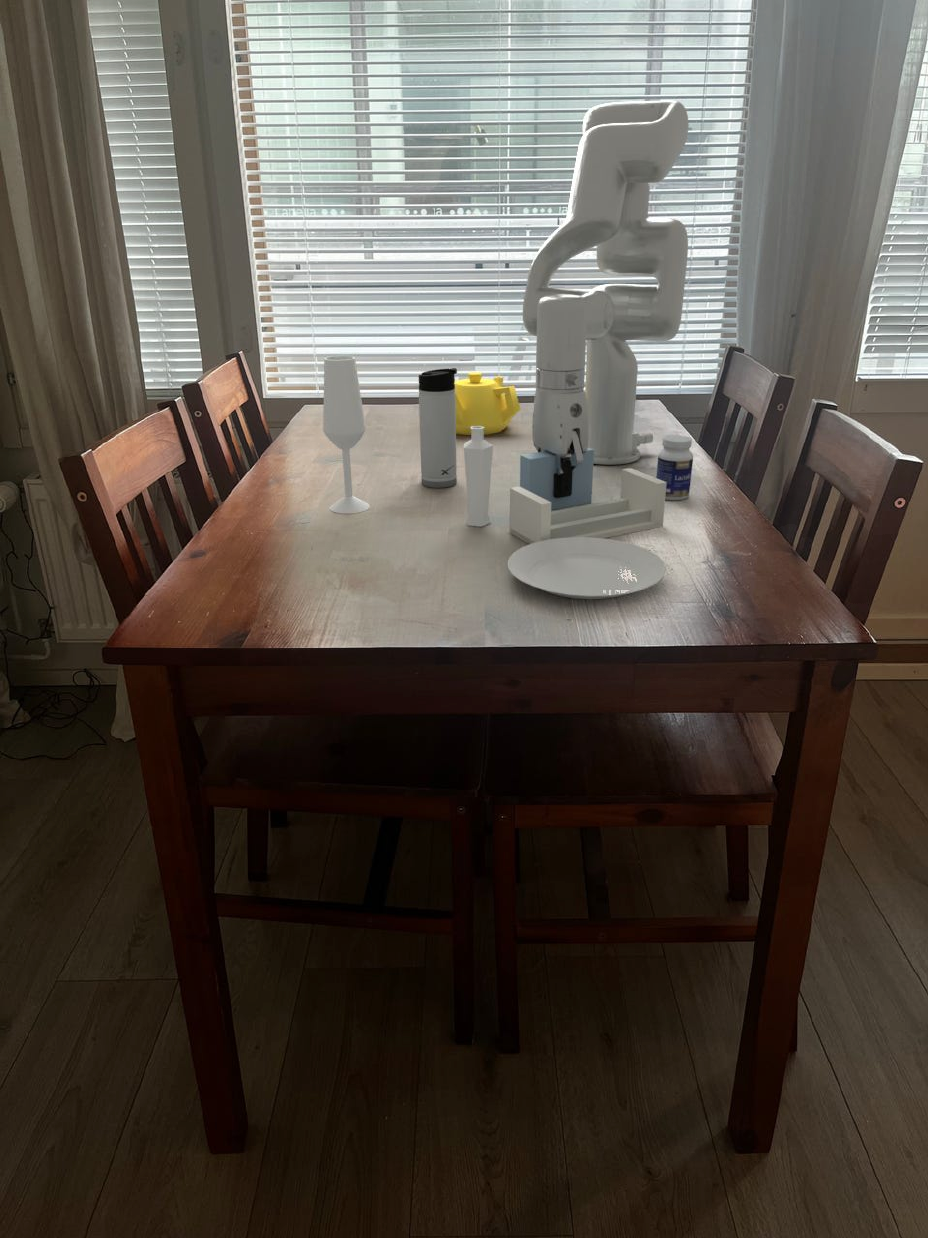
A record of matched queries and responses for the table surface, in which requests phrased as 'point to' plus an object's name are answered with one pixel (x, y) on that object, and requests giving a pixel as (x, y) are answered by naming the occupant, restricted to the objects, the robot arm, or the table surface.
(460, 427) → the teapot
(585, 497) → the door panel
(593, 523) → the track frame
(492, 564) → the table surface
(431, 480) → the travel mug
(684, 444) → the pill bottle
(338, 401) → the champagne flute
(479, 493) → the perfume bottle
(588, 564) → the plate
